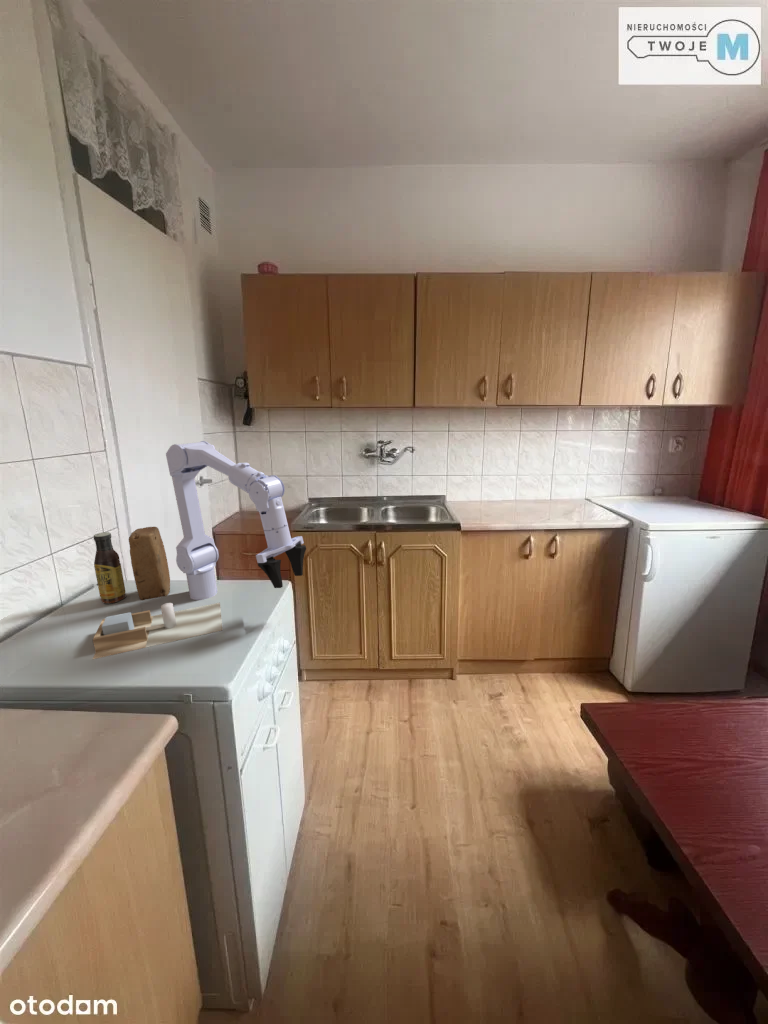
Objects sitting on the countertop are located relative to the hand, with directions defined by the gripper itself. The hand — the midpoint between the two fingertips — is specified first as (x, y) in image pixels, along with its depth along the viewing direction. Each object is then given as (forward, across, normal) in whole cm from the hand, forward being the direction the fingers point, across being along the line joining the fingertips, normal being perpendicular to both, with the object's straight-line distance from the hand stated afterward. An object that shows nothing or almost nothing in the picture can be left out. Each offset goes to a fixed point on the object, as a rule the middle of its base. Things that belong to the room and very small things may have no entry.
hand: (289, 581), depth 102 cm
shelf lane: (+6, -17, +27) cm, 32 cm away
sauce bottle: (+1, -11, +57) cm, 58 cm away
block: (+3, -4, +49) cm, 49 cm away
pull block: (+4, -21, +29) cm, 36 cm away
